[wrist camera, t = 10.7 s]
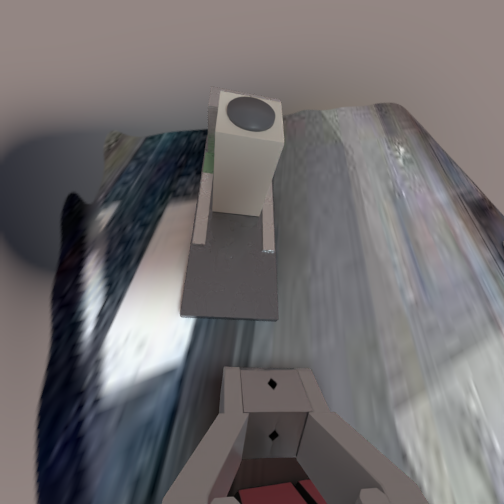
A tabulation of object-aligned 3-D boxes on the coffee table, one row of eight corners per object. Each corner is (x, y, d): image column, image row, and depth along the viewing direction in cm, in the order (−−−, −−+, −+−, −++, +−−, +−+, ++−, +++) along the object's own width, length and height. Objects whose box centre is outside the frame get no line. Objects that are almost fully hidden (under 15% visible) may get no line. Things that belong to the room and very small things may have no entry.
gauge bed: (276, 321, 25) (302, 301, 18) (181, 317, 24) (170, 294, 17) (269, 150, 38) (284, 100, 31) (206, 140, 36) (207, 85, 29)
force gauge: (259, 216, 30) (285, 138, 20) (212, 211, 29) (215, 127, 19) (258, 166, 34) (280, 81, 24) (217, 160, 33) (222, 69, 23)
